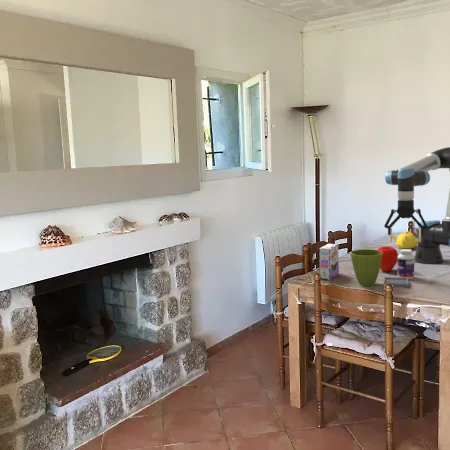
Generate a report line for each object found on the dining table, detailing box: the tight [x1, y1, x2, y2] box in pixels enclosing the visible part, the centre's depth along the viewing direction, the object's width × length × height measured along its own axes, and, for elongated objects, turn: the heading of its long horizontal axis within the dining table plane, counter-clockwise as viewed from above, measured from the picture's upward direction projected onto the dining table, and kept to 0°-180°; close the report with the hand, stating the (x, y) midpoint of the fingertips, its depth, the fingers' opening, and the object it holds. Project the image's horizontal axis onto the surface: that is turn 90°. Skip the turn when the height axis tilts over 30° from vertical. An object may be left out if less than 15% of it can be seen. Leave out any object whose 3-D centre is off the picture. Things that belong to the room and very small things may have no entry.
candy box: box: [318, 243, 340, 281], centre depth 265 cm, size 14×6×16 cm, turn 148°
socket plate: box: [383, 276, 410, 289], centre depth 246 cm, size 11×11×2 cm
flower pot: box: [350, 248, 382, 287], centre depth 248 cm, size 15×15×16 cm
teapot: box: [392, 230, 418, 250], centre depth 324 cm, size 20×18×11 cm
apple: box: [377, 246, 399, 272], centre depth 271 cm, size 12×12×13 cm
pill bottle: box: [396, 248, 415, 280], centre depth 255 cm, size 8×8×14 cm
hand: (405, 241), depth 254 cm, fingers open, 13 cm apart
